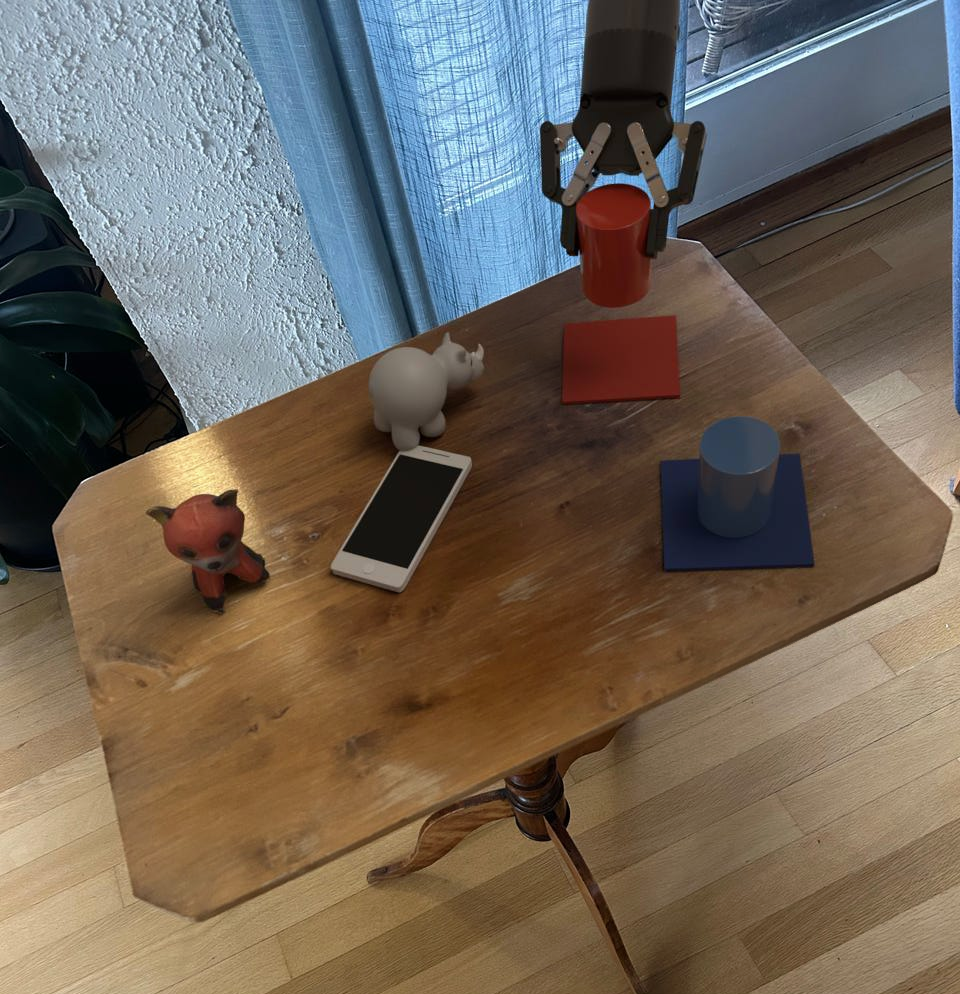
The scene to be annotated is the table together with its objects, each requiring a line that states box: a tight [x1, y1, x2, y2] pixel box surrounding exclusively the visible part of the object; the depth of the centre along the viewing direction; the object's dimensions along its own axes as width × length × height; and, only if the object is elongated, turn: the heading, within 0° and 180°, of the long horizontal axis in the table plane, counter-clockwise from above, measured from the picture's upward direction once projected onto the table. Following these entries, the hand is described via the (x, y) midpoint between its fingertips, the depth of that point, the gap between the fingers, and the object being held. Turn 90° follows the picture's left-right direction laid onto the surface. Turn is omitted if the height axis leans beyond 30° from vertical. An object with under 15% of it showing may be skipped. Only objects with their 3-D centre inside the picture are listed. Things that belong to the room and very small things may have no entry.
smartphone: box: [330, 444, 473, 593], centre depth 92 cm, size 7×15×1 cm, turn 156°
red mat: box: [561, 314, 681, 406], centre depth 99 cm, size 11×11×1 cm
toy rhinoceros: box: [368, 331, 485, 451], centre depth 96 cm, size 7×12×8 cm, turn 122°
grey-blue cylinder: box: [697, 415, 781, 538], centre depth 84 cm, size 6×6×8 cm
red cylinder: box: [576, 182, 653, 309], centre depth 89 cm, size 6×6×8 cm
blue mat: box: [660, 453, 815, 572], centre depth 87 cm, size 12×12×1 cm
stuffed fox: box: [145, 488, 271, 615], centre depth 88 cm, size 8×11×12 cm
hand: (611, 255), depth 88 cm, fingers closed on red cylinder, 6 cm apart
